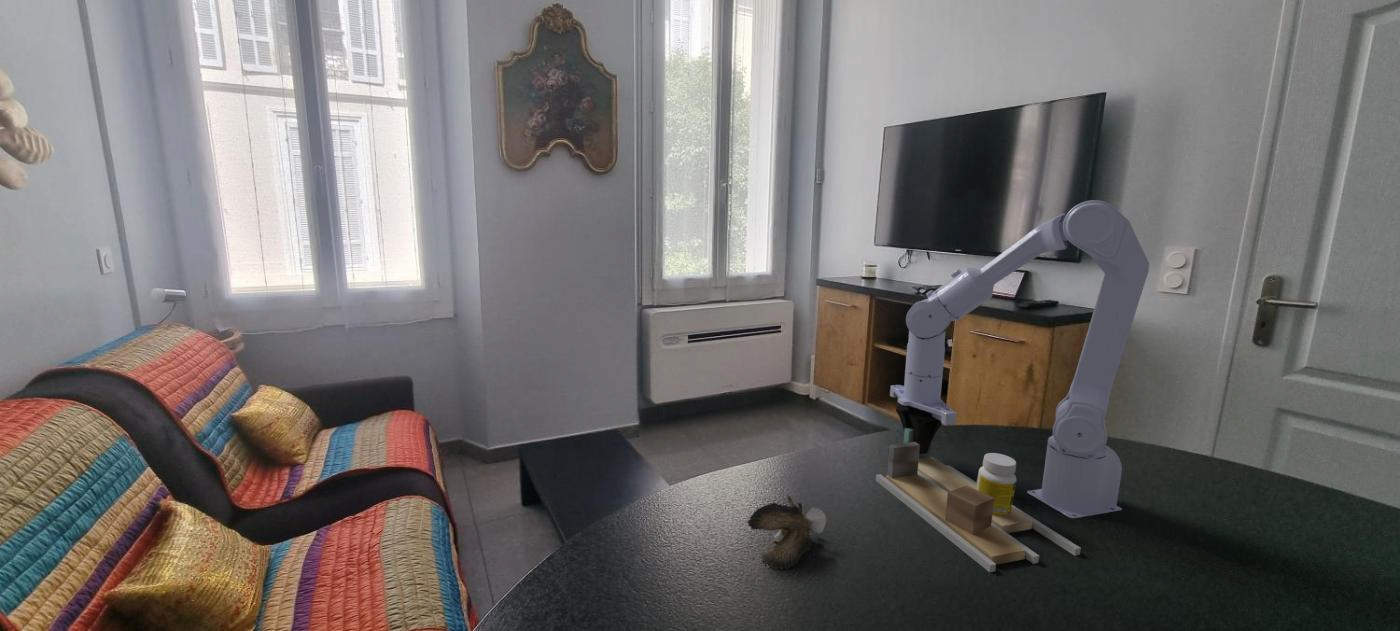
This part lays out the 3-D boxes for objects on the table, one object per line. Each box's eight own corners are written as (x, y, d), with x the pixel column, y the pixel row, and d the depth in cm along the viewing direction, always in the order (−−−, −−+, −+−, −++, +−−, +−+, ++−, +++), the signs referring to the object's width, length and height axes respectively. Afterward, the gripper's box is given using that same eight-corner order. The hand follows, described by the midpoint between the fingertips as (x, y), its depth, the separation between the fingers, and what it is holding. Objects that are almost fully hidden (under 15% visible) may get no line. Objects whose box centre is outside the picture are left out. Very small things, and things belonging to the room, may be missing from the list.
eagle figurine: (771, 514, 79) (734, 530, 72) (801, 480, 77) (766, 493, 69) (808, 561, 75) (773, 583, 68) (842, 527, 73) (809, 546, 66)
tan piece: (926, 460, 98) (929, 425, 97) (1031, 528, 77) (1037, 486, 76) (900, 463, 96) (903, 428, 95) (1001, 534, 76) (1006, 490, 74)
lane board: (948, 473, 94) (949, 465, 94) (1079, 558, 71) (1080, 547, 71) (875, 483, 91) (876, 474, 90) (989, 576, 68) (990, 565, 68)
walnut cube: (963, 512, 79) (966, 485, 78) (991, 526, 75) (994, 498, 75) (945, 520, 77) (947, 492, 76) (972, 534, 73) (975, 505, 73)
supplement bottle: (1014, 525, 78) (1024, 469, 76) (977, 520, 79) (986, 464, 77) (1003, 507, 83) (1012, 453, 81) (968, 502, 83) (977, 449, 81)
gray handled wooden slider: (913, 478, 91) (916, 441, 90) (1024, 559, 70) (1030, 512, 69) (885, 482, 90) (888, 445, 89) (991, 565, 69) (996, 518, 68)
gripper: (877, 362, 99) (871, 436, 102) (932, 387, 86) (924, 472, 88) (912, 359, 101) (906, 432, 104) (971, 384, 87) (962, 467, 90)
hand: (916, 450), depth 96 cm, fingers closed
